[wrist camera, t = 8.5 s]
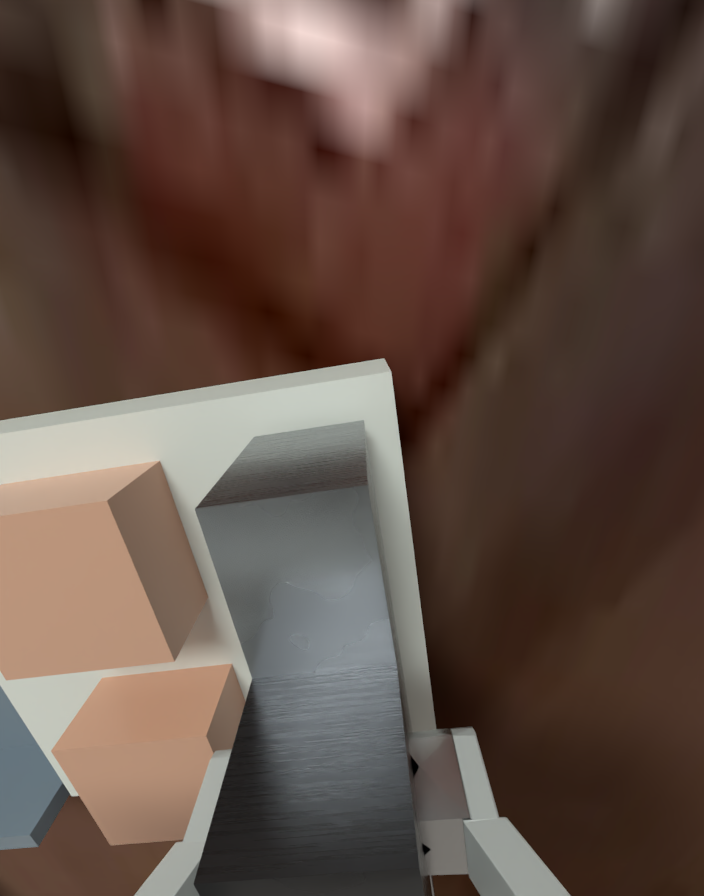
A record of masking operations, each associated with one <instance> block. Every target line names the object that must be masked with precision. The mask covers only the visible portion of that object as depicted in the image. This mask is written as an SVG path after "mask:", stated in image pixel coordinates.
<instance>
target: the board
mask: <svg viewBox="0 0 704 896" xmlns="http://www.w3.org/2000/svg"><path fill="white" fill-rule="evenodd" d="M361 420H364V424H365V431H366V437H367V443H368V450H369V456H370V463H371V469H372V475H373V482H374V488H375V495H376V501H377V507H378V514H379V520H380V527H381V533H382V540H383V546H384V552H385V559H386V565H387V572H388V578H389V584H390V591H391V597H392V604H393V610H394V616H395V623H396V629H397V636H398V642H399V648H400V655H401V661H402V668H403V674H404V680H405V687H406V693H407V700H408V706H409V713H410V719H411V725H412V732H418V731H427V730H436V723H435V715H434V707H433V699H432V691H431V683H430V675H429V667H428V659H427V652H426V644H425V636H424V628H423V620H422V612H421V604H420V596H419V588H418V580H417V572H416V564H415V556H414V548H413V540H412V533H411V525H410V517H409V509H408V501H407V493H406V485H405V477H404V469H403V461H402V453H401V445H400V437H399V429H398V421H397V414H396V406H395V398H394V390H393V382H392V374H391V370H390V368H389V367H388V365H387V363H386V361H385V359H384V358H383V359H377V360H371V361H365V362H358V363H352V364H346V365H340V366H334V367H328V368H322V369H315V370H309V371H303V372H297V373H291V374H285V375H278V376H272V377H266V378H260V379H254V380H248V381H241V382H235V383H229V384H223V385H217V386H211V387H204V388H198V389H192V390H186V391H180V392H174V393H168V394H161V395H155V396H149V397H143V398H137V399H131V400H124V401H118V402H112V403H106V404H100V405H94V406H87V407H81V408H75V409H69V410H63V411H57V412H50V413H44V414H38V415H32V416H26V417H20V418H14V419H7V420H1V421H0V485H1V484H7V483H14V482H20V481H27V480H34V479H40V478H47V477H54V476H60V475H67V474H74V473H80V472H87V471H94V470H100V469H107V468H114V467H120V466H127V465H134V464H140V463H147V462H154V461H160V463H161V465H162V468H163V471H164V474H165V477H166V479H167V482H168V485H169V488H170V491H171V493H172V496H173V499H174V502H175V505H176V508H177V510H178V513H179V516H180V519H181V522H182V524H183V527H184V530H185V533H186V536H187V538H188V541H189V544H190V547H191V550H192V553H193V555H194V558H195V561H196V564H197V567H198V569H199V572H200V575H201V578H202V581H203V583H204V586H205V589H206V592H207V595H208V599H207V601H206V603H205V605H204V607H203V609H202V611H201V612H200V614H199V616H198V618H197V620H196V622H195V624H194V626H193V628H192V630H191V632H190V633H189V635H188V637H187V639H186V641H185V643H184V645H183V647H182V649H181V651H180V653H179V654H178V656H177V658H176V660H175V662H167V663H158V664H149V665H141V666H132V667H123V668H114V669H105V670H96V671H87V672H78V673H69V674H60V675H51V676H42V677H33V678H24V679H15V680H6V679H5V678H4V676H3V675H2V673H1V671H0V686H1V687H2V689H3V691H4V692H5V694H6V695H7V697H8V698H9V700H10V701H11V703H12V705H13V706H14V708H15V709H16V711H17V712H18V714H19V715H20V717H21V718H22V720H23V722H24V723H25V725H26V726H27V728H28V729H29V731H30V732H31V734H32V736H33V737H34V739H35V740H36V742H37V743H38V745H39V746H40V748H41V750H42V751H43V753H44V754H45V756H46V757H47V759H48V760H49V762H50V764H51V765H52V767H53V768H54V770H55V771H56V773H57V774H58V776H59V777H60V779H61V781H62V782H63V784H64V785H65V787H66V788H67V790H68V791H69V793H70V795H71V796H79V795H78V793H77V791H76V790H75V788H74V787H73V785H72V784H71V782H70V780H69V779H68V777H67V776H66V774H65V773H64V771H63V769H62V768H61V766H60V765H59V763H58V761H57V760H56V758H55V757H54V755H53V754H52V752H51V750H52V749H53V747H54V746H55V744H56V743H57V741H58V740H59V739H60V737H61V736H62V734H63V733H64V731H65V730H66V729H67V727H68V726H69V724H70V723H71V721H72V720H73V719H74V717H75V716H76V714H77V713H78V711H79V710H80V709H81V707H82V706H83V704H84V703H85V701H86V700H87V699H88V697H89V696H90V694H91V693H92V691H93V690H94V689H95V687H96V686H97V684H98V683H99V681H100V680H101V679H102V678H105V677H114V676H123V675H132V674H141V673H151V672H160V671H169V670H178V669H187V668H196V667H205V666H214V665H223V664H232V665H233V668H234V671H235V673H236V676H237V679H238V682H239V685H240V687H241V690H242V693H243V696H244V699H245V701H246V698H247V695H248V691H249V688H250V684H251V681H252V677H251V674H250V671H249V668H248V665H247V662H246V659H245V656H244V653H243V650H242V647H241V644H240V641H239V638H238V635H237V633H236V630H235V627H234V624H233V621H232V618H231V615H230V612H229V609H228V606H227V603H226V600H225V597H224V594H223V591H222V588H221V585H220V582H219V579H218V576H217V573H216V570H215V567H214V565H213V562H212V559H211V556H210V553H209V550H208V547H207V544H206V541H205V538H204V535H203V532H202V529H201V526H200V523H199V520H198V517H197V514H196V511H195V508H196V507H197V506H198V505H199V503H200V502H201V501H202V500H203V498H204V497H205V496H206V495H207V494H208V492H209V491H210V490H211V489H212V487H213V486H214V485H215V484H216V483H217V481H218V480H219V479H220V478H221V476H222V475H223V474H224V473H225V472H226V470H227V469H228V468H229V467H230V465H231V464H232V463H233V462H234V461H235V459H236V458H237V457H238V456H239V455H240V453H241V452H242V451H243V450H244V448H245V447H246V446H247V445H248V444H249V442H250V441H251V440H252V439H253V437H255V436H262V435H269V434H275V433H282V432H288V431H295V430H301V429H308V428H315V427H321V426H328V425H334V424H341V423H348V422H354V421H361Z"/></svg>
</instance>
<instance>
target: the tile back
mask: <svg viewBox="0 0 704 896" xmlns="http://www.w3.org/2000/svg"><path fill="white" fill-rule="evenodd" d="M245 702H246V701H245V699H244V696H243V693H242V690H241V687H240V685H239V682H238V679H237V676H236V673H235V671H234V668H233V665H232V664H223V665H214V666H205V667H196V668H187V669H178V670H169V671H160V672H151V673H141V674H132V675H123V676H114V677H105V678H102V679H101V680H100V681H99V683H98V684H97V686H96V687H95V689H94V690H93V691H92V693H91V694H90V696H89V697H88V699H87V700H86V701H85V703H84V704H83V706H82V707H81V709H80V710H79V711H78V713H77V714H76V716H75V717H74V719H73V720H72V721H71V723H70V724H69V726H68V727H67V729H66V730H65V731H64V733H63V734H62V736H61V737H60V739H59V740H58V741H57V743H56V744H55V746H54V747H53V749H52V750H51V752H52V754H53V755H54V757H55V758H56V760H57V761H58V763H59V765H60V766H61V768H62V769H63V771H64V773H65V774H66V776H67V777H68V779H69V780H70V782H71V784H72V785H73V787H74V788H75V790H76V791H77V793H78V795H79V796H80V798H81V799H82V801H83V803H84V804H85V806H86V807H87V809H88V810H89V812H90V814H91V815H92V817H93V818H94V820H95V821H96V823H97V825H98V826H99V828H100V829H101V831H102V833H103V834H104V836H105V837H106V839H107V840H108V842H109V844H110V845H121V844H134V843H147V842H160V841H173V840H183V839H184V836H185V833H186V830H187V827H188V824H189V821H190V818H191V815H192V812H193V809H194V806H195V803H196V800H197V797H198V794H199V791H200V788H201V785H202V782H203V779H204V776H205V773H206V770H207V767H208V764H209V761H210V759H211V757H212V756H213V754H214V752H215V751H218V750H227V749H232V747H233V744H234V740H235V737H236V733H237V730H238V726H239V723H240V719H241V716H242V712H243V709H244V705H245Z"/></svg>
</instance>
